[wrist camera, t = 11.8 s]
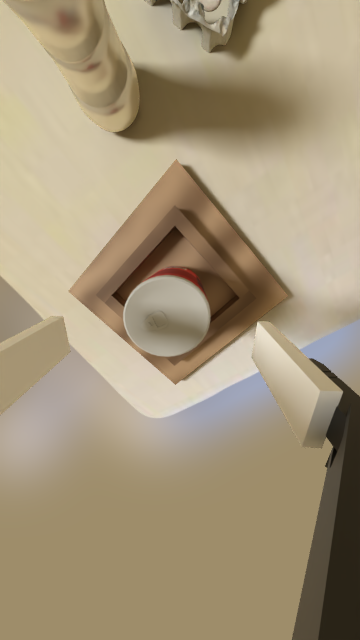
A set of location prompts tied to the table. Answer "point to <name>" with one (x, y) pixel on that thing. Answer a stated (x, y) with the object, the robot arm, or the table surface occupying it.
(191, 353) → the walnut holder
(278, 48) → the table surface
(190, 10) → the egg carton
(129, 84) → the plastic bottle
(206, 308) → the canned food
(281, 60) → the table surface
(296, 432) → the robot arm
